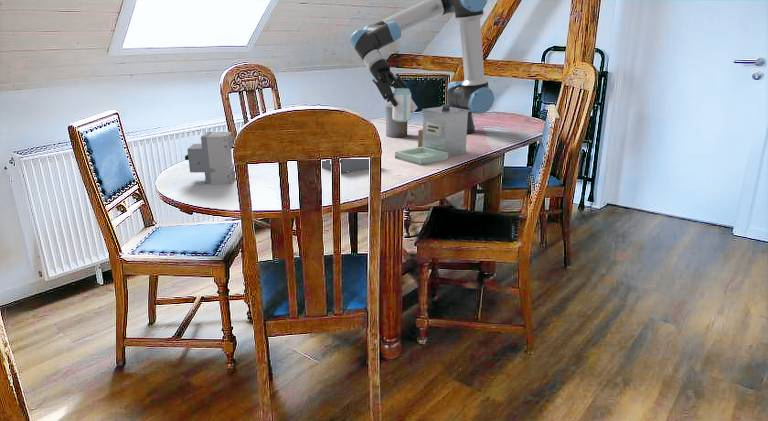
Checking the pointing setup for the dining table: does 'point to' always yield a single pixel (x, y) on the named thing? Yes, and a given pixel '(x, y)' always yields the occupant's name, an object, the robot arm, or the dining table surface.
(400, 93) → the can
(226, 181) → the circuit breaker
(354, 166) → the wheel bin
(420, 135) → the walnut block
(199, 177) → the dining table surface
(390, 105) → the pillar candle
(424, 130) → the box
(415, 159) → the tray
